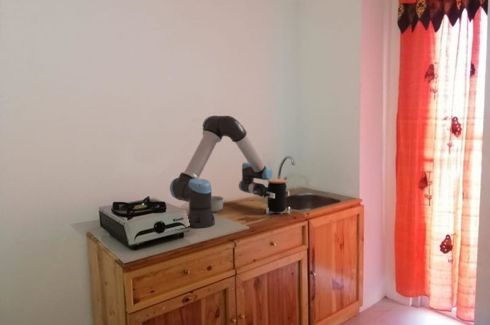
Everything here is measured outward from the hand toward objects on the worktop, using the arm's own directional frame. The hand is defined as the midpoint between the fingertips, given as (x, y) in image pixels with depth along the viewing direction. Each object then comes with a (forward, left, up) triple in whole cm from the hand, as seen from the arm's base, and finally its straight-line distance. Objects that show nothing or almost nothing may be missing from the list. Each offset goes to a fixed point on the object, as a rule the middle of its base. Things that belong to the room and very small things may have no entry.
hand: (281, 194), depth 219 cm
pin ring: (-2, +4, -11) cm, 12 cm away
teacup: (-28, +31, -12) cm, 43 cm away
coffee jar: (0, +4, -10) cm, 11 cm away
